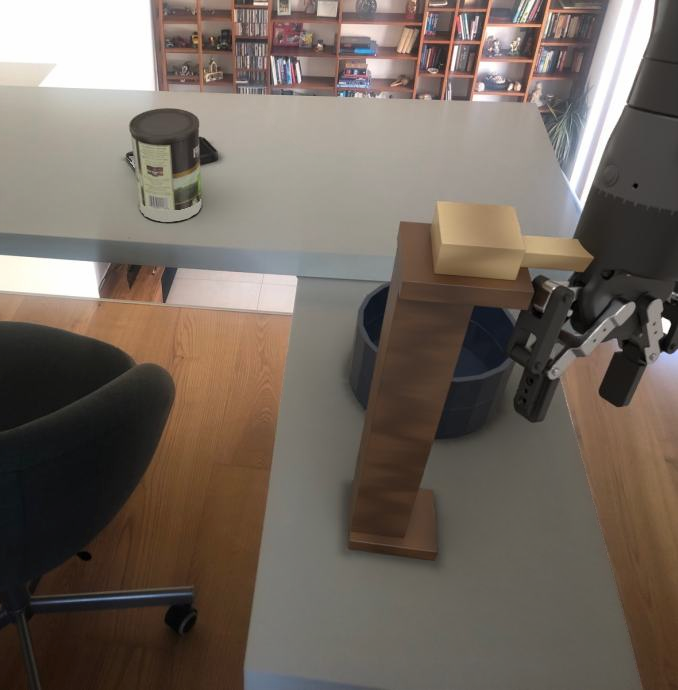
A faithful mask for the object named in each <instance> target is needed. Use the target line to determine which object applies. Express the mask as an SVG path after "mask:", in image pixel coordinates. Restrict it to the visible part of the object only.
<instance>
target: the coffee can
mask: <svg viewBox="0 0 678 690" xmlns="http://www.w3.org/2000/svg"><path fill="white" fill-rule="evenodd" d="M128 130H129V133H130V137H131V145H132V151H133V155H134V164H135V172H134V173H135V179H136V181H135V182H136V188H137V197H138V202H139V201H140V203H142V204H143V205H144V206H146V207H148V208H151V209H155V210H161V211H174V210H181V209H185V208H188V207H191V206H193V205H195V204H196V203H198V202H199V201H200V199H201V196H202V178H201V177H202V176H201V175H202V174H201V164H200V150H199V137H200V120H199V118H198V116H197V115H196V114H194V113H193V112H191V111H188V110H186V109H181V108H174V107H173V108H169V107H165V108H155V109H149V110H146V111H143V112H141V113H139V114H137V115H135V116H134V117H133V118H132V119H130V121H129V124H128Z"/></svg>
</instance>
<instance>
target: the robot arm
mask: <svg viewBox="0 0 678 690" xmlns="http://www.w3.org/2000/svg"><path fill="white" fill-rule="evenodd" d="M652 15H653V16H652V22H651V29H650V33H649V38H648V41H647V44H646V46H645V49H644V52H643V54H642V58H641V60H640V63H639V65H638V68H637V70H636V74H635V76H634V79H633V81H632V85H631V88H630V91H629V93H628V96H627V98H626V101H625V103H626V104H625V105H624V107H623V109H622V111H621V114H620V116H619V117H618V119H617V121H616V123H615V125H614V127H613V129H612V131H611V133H610V135H609V137H608V139H607V142H606V143H605V146H604V149H603V151H602V155H601V158H600V161H599V163H598V165H597V169H596V172H595V173H594V174H595V175H594V177H593V180H592V182H591V185H590V187H589V190H588V194H587V197H586V200H585V202H584V205H583V208H582V210H581V213H580V217H579V219H578V221H577V225H576V228H575V230H574V233H573V236H572V238H571V239H578V241H579V242H580V244H581V245H582V247H583V248H584V249H585V250H586V251H587V252H588V253H589V254H591V255H592V256H593V257H594V259H593V260H592V262H591V263H590V264H589V265H588V267H587V268H586V269H585V271H584V272H575V271H573V273H572V274H571V276H569V278H568V279H567V281H555V280H553V279H551V278H550V277H548V276H545V275H543V274H539V275H536V276H535V277H534V278H533V279H532V280H531V281H532V285H533V289H534V295H533V297H532V300H531V303H530V305H529V308H528V310H520V311H519V314H518V316H517V318H516V324H515V326H514V329H513V331H512V334H511V337H510V339H509V342H508V344H507V347H506V350H505V355H506V356H508V357H509V358H511V359H512V360H514V361H515V364H516V363H517V364H518V365H519V366H521V367H522V368H523V372H522V374H521V376H520V380H519V383H518V384H517V385H518V386H517V388H516V391H515V394H514V397H513V400H512V401H513V403H512V404H513V405H512V406H513V408H514V411H515V412H516V413H517V414H518V415H520V416H521V417H523V418H524V419H525V420H527V422H529V423H530V424H531V423H532V424H536V423H540V422H543V421H544V420H545V418H546V416H547V413H548V410H549V409H550V405H551V403H552V400H553V397H554V395H555V393H556V390H557V388H558V386H559V383H560V380H561V378H560V376H561V375H562V374H563V373H564V371H566V370H567V368H569V366H571V364H572V363H573V362H574V361H575V360H576V359H577V358H585V357H588V356H589V355H590V354H591V353H592V352H593V351H594V350H595V349H596V348H597V346H599V345H600V344H602V343H606V342H609V341H612V340H614V339H615V340H616V341H617V346H618V348H619V349H620V350H619V351H617V350H616V351H614V352H613V354H612V357H611V359H610V362H609V364H608V366H607V368H606V371H605V373H604V376H603V378H602V380H601V382H600V385H599V388H598V395H599V397H601V398H602V399H603V400H605V401H606V402H608V403H609V404H611V405H612V406H614V407H616V408H624V407H628V406H629V405H630V404H631V402H632V399H633V396H634V395H635V393H636V391H637V389H638V387H639V384H640V382H641V380H642V377H643V376H644V373H645V371H646V369H647V367H648V365H653V364H654V363H655V362H656V361H658V359H659V358H660V355H661V354H662V353H666V354H668V355H673V354H675V353H676V352H677V351H678V0H654V6H653V14H652ZM628 274H629V275H631V276H627V275H628ZM662 319H666V320H667V321H668V322H669V323H670V326H669V329H668V331H667V333H666V332H664V327H663V321H662ZM568 321H569V324H570V326H571V328H572V329H573V331H575V332H576V333H577V334H580V335H575V334H573V333H571V332H569V331H568V330H566V329H564V328H563V326H564V325H565V324H567V322H568ZM531 335H533V336H534V337H535V339H534V341H533V342H532V343H531V344H529V346H528V345H527V344H528V342H529V340H530V337H531ZM555 344H560V345H561V346H563V347H562V348H561V349H560V350H559V352H557V353H556V354H555V355H554V356H553V357H551V354H552V352H553V350H554V347H555Z"/></svg>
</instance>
